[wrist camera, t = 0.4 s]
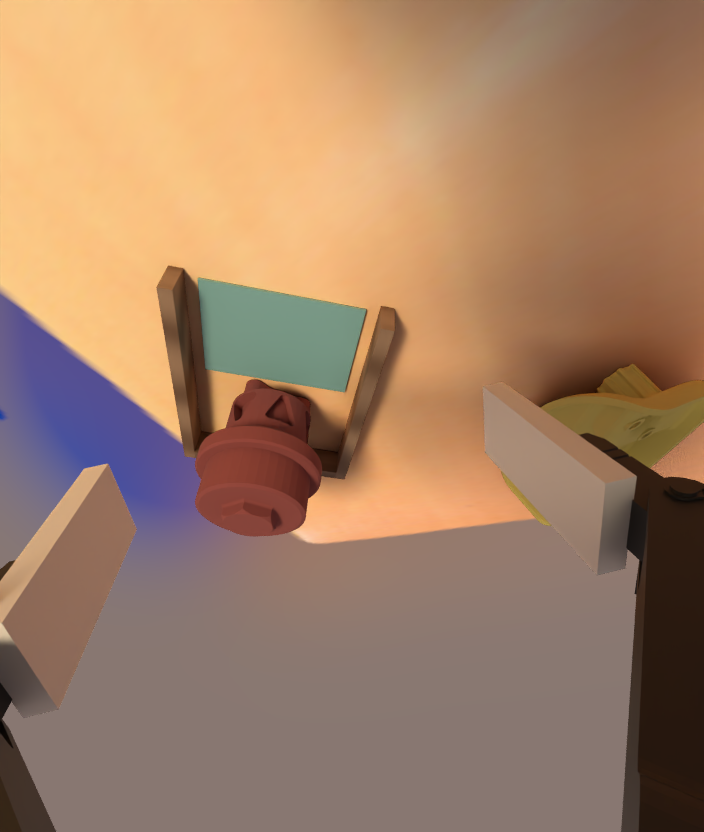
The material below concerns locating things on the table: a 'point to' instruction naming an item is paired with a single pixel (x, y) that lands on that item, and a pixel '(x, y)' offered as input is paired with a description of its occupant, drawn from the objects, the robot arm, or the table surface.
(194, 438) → the bay
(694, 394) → the plastic component
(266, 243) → the table surface
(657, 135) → the table surface
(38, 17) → the table surface
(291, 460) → the mechanical component
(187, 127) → the table surface
